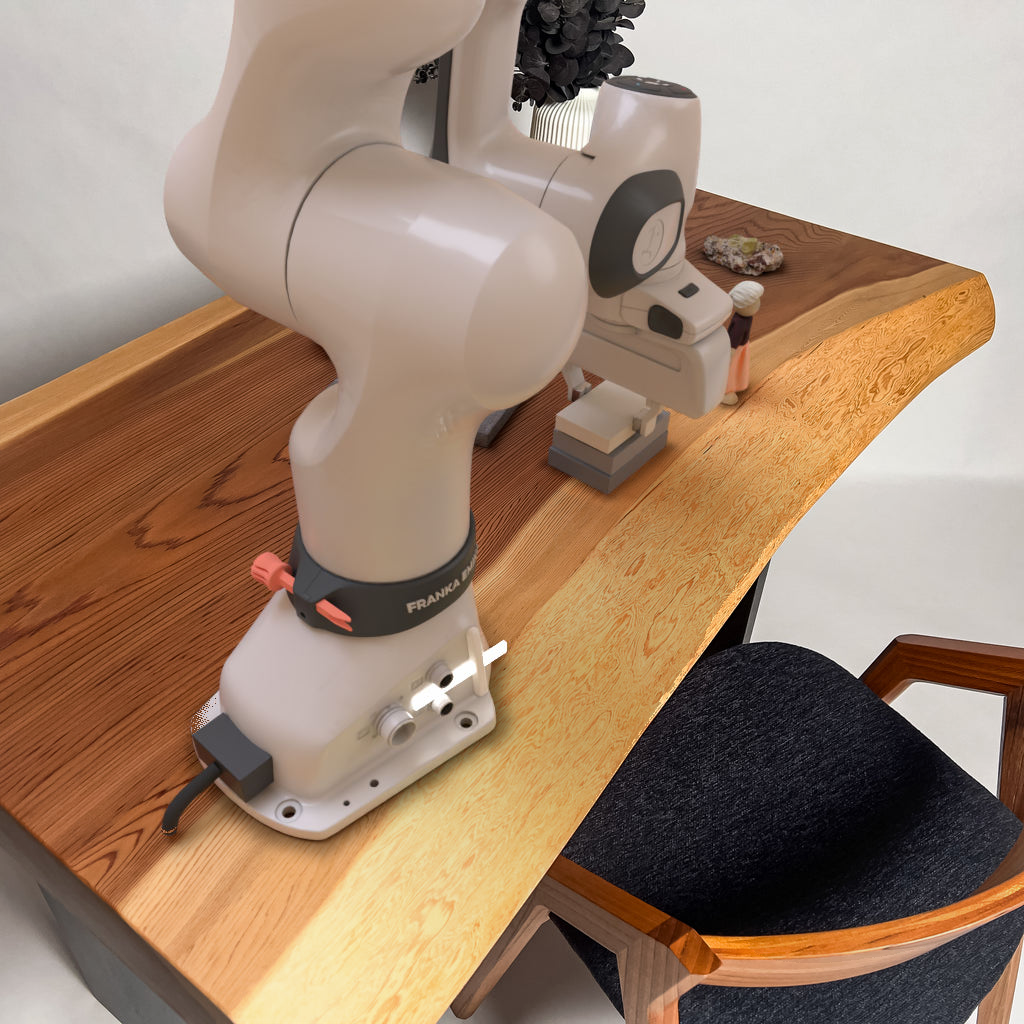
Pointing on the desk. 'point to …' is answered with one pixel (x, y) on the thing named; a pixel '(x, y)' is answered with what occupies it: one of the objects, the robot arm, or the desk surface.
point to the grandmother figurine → (741, 337)
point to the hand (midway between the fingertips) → (610, 415)
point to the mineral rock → (743, 254)
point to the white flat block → (602, 416)
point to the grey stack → (607, 456)
